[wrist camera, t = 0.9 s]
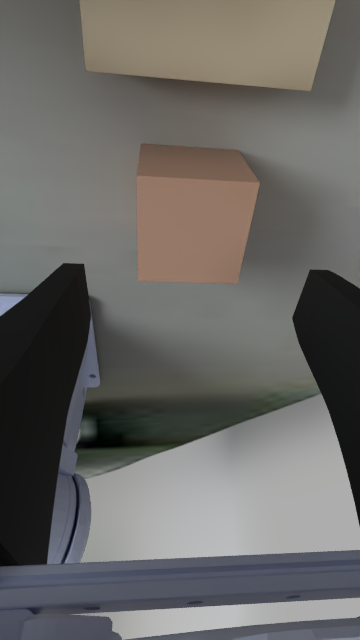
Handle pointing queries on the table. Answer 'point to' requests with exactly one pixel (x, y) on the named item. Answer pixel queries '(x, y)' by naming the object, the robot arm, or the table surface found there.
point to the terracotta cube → (193, 213)
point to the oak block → (208, 39)
